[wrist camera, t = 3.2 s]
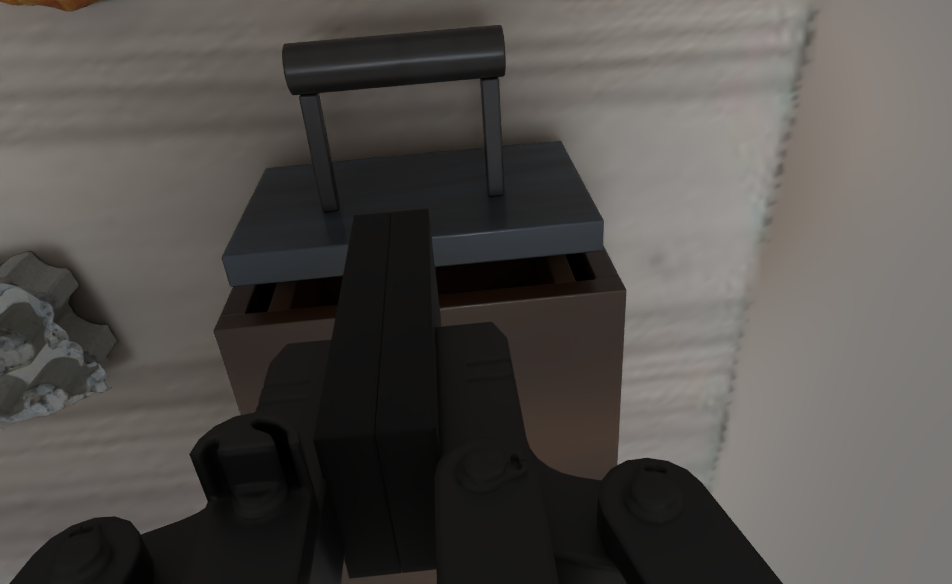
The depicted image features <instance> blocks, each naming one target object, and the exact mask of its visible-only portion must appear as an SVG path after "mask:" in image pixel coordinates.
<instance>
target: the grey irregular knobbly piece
mask: <svg viewBox="0 0 952 584" xmlns="http://www.w3.org/2000/svg"><path fill="white" fill-rule="evenodd" d="M78 287H79V286H78V283H77V281H76V280H75V279H74V277H73V276H72V274H71V272H70V271H69V270H68V269H63V268H56V267H53V266H48V265H47V264H45V263H43V262H41V261H40V260H39V259H37V258H36V257H35V256H34V254H33V253H32V252H25V253H21V254H18V255H15V256H12V257H11V258H9V259H8V260H7V261H6V262H5V263H4V264H3V265H2V266H1V267H0V429H3V428H5V427H7V426H9V425H10V424H12V423H16V422H20V421H24V420H28V419H31V418H34V417H40V416H48V415H50V414H52V413H54V412H56V411H58V410H61V409H63V408H65V407H67V406H70V405H71V404H73V403H75V402H77V401H78V400H81V399H84V398H86V397H88V396H90V395H91V394H93V393H95V392H99V393H102V392H105V391H107V390H109V389H110V388H112V387H107V385H106V383H105V377H106V372H105V370H104V369H103V368H104V367H105V366H106V364H107V357H106V356H107V354H108V353H109V352H110V351H111V349H112V347H113V346H114V344H115V343H116V339H115V337H114V336H113V334H112V333H111V331H110V329H109V326H107V325H105V324H104V325H98V324H91V323H89V322H87V321H85V320H83V319H82V318H79V317H78V316H77V315H76V314H75V313H74V312H73V311H72V308H71V307H70V306H69V298H70V296H71V295H72V293H73V292H74V291H75V290H76V289H77V288H78Z"/></svg>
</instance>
